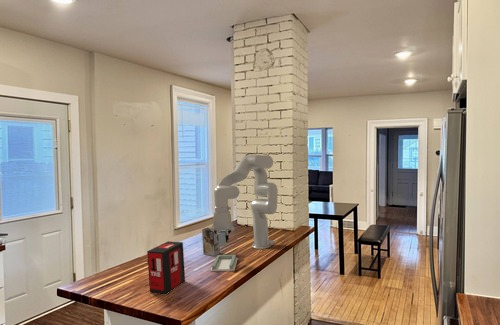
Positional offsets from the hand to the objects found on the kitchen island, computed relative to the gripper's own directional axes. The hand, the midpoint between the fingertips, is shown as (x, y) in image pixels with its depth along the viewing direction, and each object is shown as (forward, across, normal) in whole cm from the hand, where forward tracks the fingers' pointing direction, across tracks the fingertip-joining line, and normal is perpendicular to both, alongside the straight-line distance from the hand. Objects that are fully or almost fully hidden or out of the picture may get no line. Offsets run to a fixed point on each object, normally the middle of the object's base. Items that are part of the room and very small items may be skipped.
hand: (223, 241), depth 192 cm
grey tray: (+14, 0, 0) cm, 14 cm away
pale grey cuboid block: (+1, 0, 0) cm, 1 cm away
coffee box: (+14, +11, -21) cm, 28 cm away
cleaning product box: (+14, +24, +28) cm, 39 cm away
